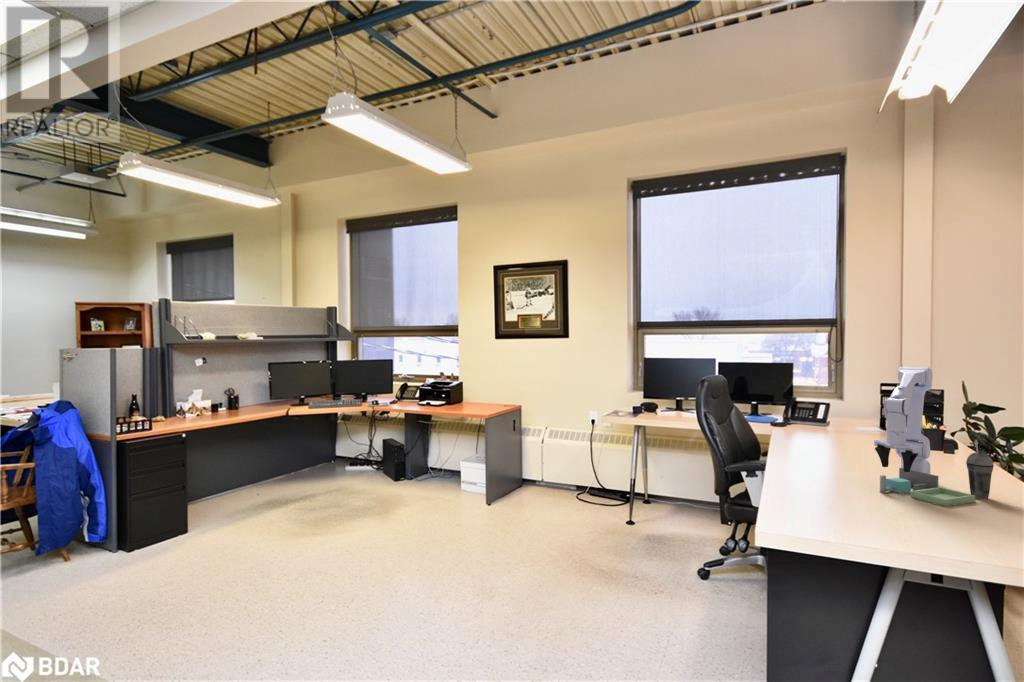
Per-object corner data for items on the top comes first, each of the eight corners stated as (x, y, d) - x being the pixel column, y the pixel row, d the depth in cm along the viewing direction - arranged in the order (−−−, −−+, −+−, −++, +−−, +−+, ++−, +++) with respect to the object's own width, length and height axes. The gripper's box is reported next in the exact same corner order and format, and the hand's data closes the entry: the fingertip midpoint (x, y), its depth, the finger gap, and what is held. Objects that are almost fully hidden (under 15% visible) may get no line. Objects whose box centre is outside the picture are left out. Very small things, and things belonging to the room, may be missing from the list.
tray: (940, 493, 186) (940, 487, 186) (975, 502, 176) (975, 495, 176) (910, 497, 181) (910, 491, 181) (944, 506, 171) (944, 499, 171)
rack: (900, 483, 199) (900, 467, 199) (938, 492, 187) (938, 475, 187) (886, 485, 197) (886, 469, 197) (923, 494, 184) (923, 477, 184)
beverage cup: (999, 501, 177) (999, 442, 177) (974, 500, 179) (974, 441, 179) (984, 495, 184) (984, 438, 184) (960, 494, 186) (961, 437, 186)
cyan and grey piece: (898, 488, 192) (898, 472, 192) (910, 492, 188) (910, 475, 188) (874, 491, 189) (875, 474, 189) (887, 494, 184) (887, 477, 184)
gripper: (868, 428, 195) (868, 465, 194) (909, 435, 181) (909, 475, 181) (881, 427, 197) (881, 464, 197) (923, 434, 183) (923, 473, 183)
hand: (895, 469), depth 189 cm, fingers open, 7 cm apart
